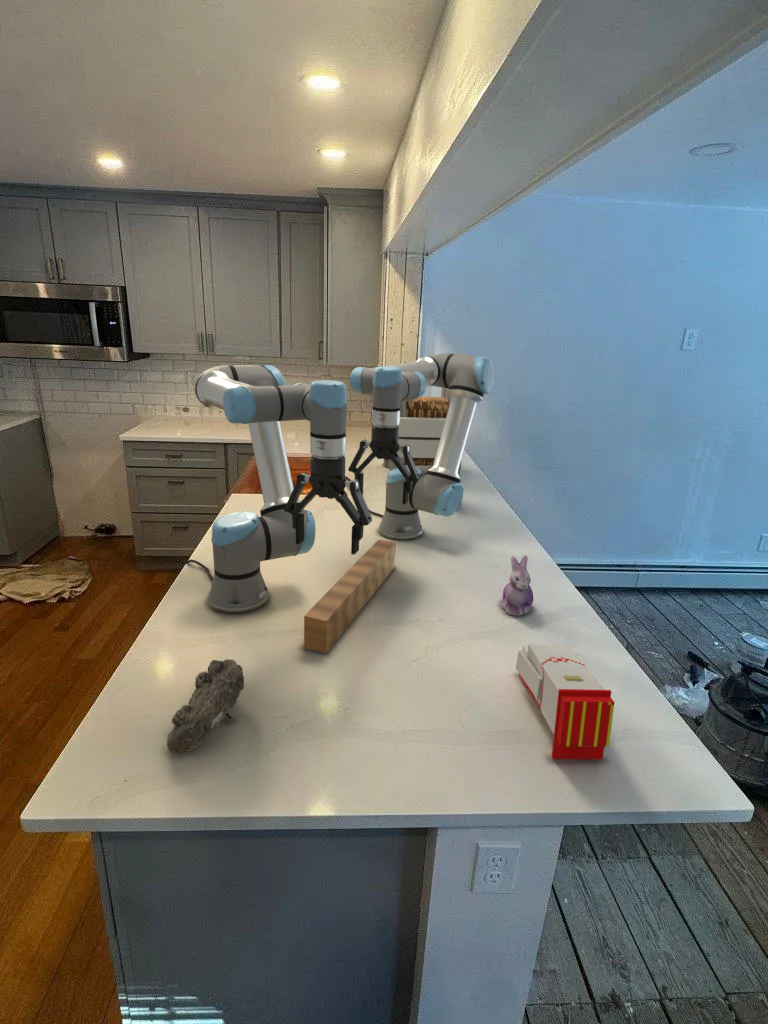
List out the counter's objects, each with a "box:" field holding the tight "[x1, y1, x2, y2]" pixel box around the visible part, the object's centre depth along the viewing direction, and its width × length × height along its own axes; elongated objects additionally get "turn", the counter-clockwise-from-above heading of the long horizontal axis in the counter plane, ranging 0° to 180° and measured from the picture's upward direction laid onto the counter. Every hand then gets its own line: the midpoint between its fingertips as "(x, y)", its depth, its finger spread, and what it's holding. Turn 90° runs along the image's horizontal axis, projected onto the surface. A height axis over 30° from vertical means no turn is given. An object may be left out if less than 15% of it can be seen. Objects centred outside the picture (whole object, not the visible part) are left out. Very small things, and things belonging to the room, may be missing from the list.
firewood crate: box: [383, 387, 463, 478], centre depth 268 cm, size 34×33×41 cm
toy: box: [515, 643, 615, 761], centre depth 113 cm, size 12×13×30 cm
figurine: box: [501, 555, 534, 617], centre depth 150 cm, size 9×10×15 cm
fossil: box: [166, 658, 245, 754], centre depth 106 cm, size 22×10×15 cm
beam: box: [303, 539, 396, 654], centre depth 151 cm, size 50×6×8 cm, turn 161°
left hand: (327, 547), depth 128 cm, fingers open, 13 cm apart
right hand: (382, 499), depth 161 cm, fingers open, 13 cm apart
